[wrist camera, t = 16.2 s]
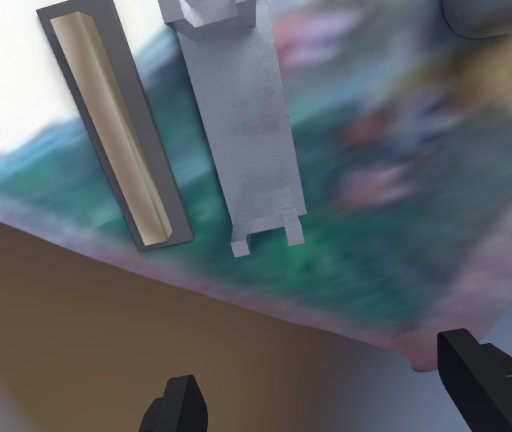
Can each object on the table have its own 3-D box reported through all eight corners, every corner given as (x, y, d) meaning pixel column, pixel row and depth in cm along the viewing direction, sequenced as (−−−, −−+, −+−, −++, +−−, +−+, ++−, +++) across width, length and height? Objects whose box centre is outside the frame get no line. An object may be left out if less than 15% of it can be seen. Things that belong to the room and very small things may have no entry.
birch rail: (92, 17, 34) (78, 11, 31) (172, 230, 44) (166, 240, 41) (66, 24, 34) (49, 19, 32) (151, 235, 44) (145, 245, 42)
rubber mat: (109, -9, 34) (106, -11, 33) (194, 236, 46) (193, 240, 45) (41, 11, 35) (35, 10, 34) (141, 248, 46) (139, 251, 45)
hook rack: (261, -23, 34) (265, -86, 21) (305, 209, 44) (325, 263, 31) (171, 3, 35) (120, -42, 22) (234, 225, 45) (226, 283, 32)
